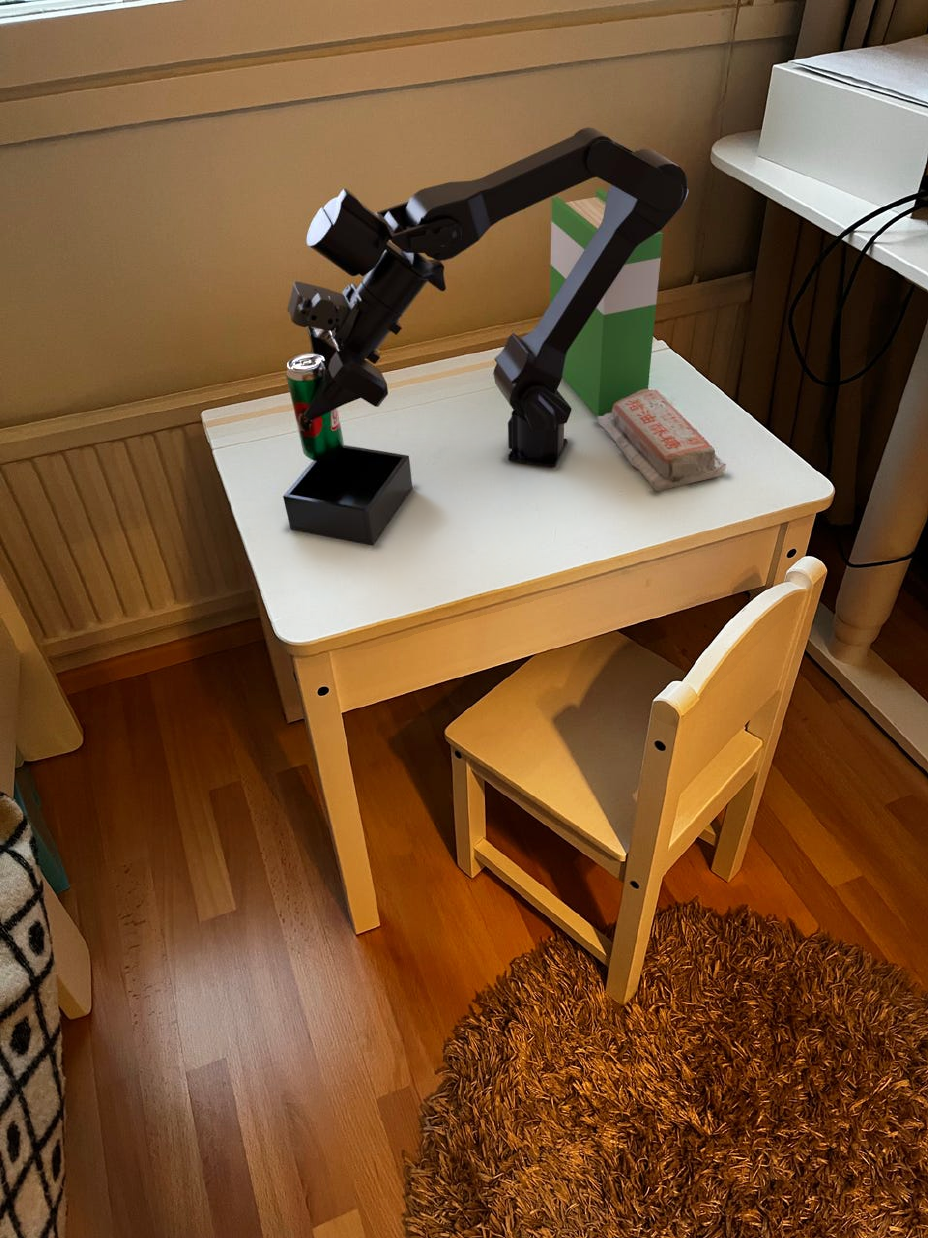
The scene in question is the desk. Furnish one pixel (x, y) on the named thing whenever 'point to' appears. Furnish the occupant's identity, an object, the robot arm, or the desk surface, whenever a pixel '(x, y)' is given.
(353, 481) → the open black square box
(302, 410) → the soda can
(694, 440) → the packaged product
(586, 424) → the desk surface
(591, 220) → the hardback book
